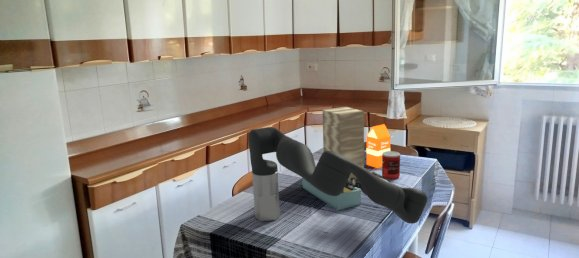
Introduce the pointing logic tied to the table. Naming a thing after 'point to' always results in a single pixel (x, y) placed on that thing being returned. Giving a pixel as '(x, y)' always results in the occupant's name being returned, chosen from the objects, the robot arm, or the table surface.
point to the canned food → (391, 165)
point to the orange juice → (377, 145)
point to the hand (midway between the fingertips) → (350, 175)
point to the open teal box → (336, 197)
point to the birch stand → (344, 133)
